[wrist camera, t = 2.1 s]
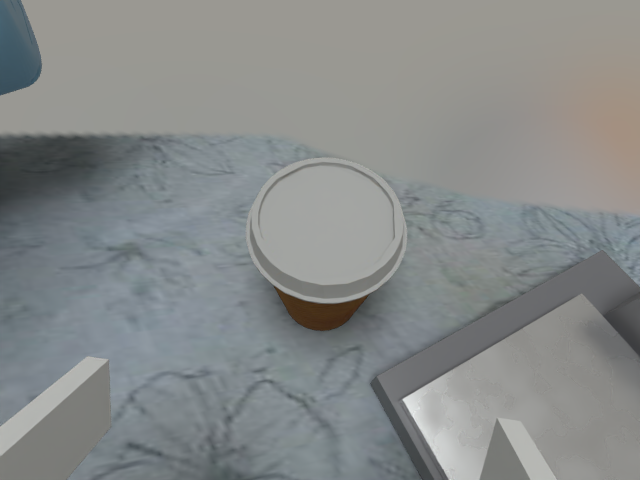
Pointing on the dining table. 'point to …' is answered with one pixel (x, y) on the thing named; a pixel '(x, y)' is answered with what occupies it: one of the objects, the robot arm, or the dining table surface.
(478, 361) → the scale pan
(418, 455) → the kitchen scale
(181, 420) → the dining table surface
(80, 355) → the dining table surface
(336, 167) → the disposable coffee cup
